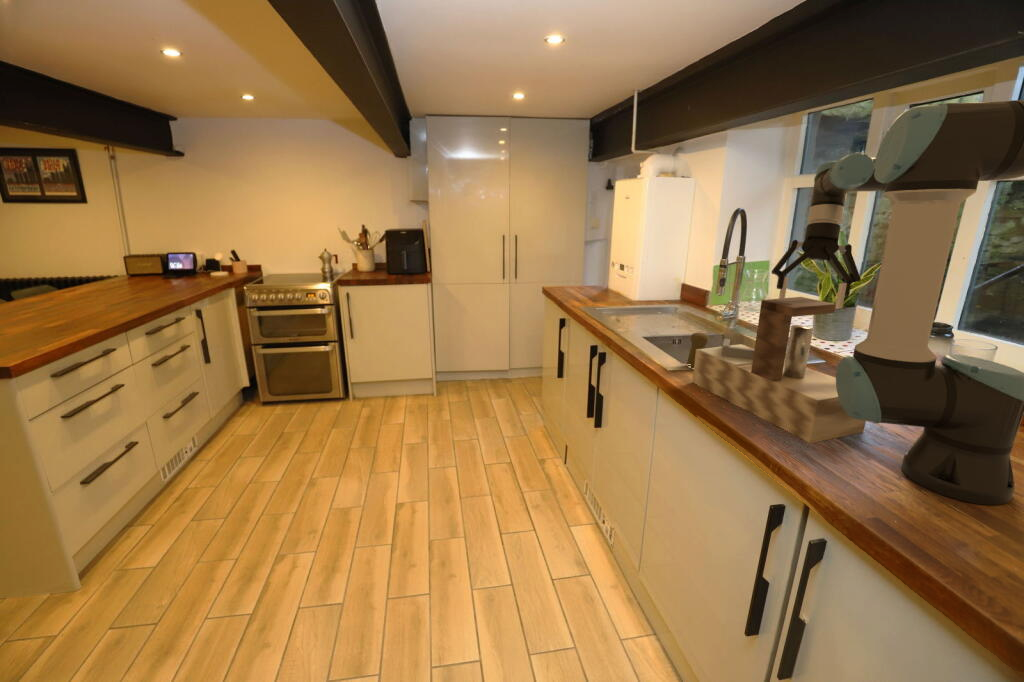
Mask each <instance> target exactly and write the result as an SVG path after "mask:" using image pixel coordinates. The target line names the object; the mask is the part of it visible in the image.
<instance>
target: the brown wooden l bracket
mask: <svg viewBox="0 0 1024 682" xmlns="http://www.w3.org/2000/svg"><path fill="white" fill-rule="evenodd" d="M760 303H761V304H760V308H759V309H760V311H759V318H758V323H757V329H756V330H757V331H756V336H755V344H754V348H753V349H754V356H753V363H752V370H751V373H753V374H756V375H758V376H761V377H763V378H765V379H768V380H770V381H773V382H774V381H780V380H781V379H782V373H783V367H784V361H785V360H786V355H787V349H788V343H789V337H790V331H791V326H792V319H793V318H794V317H803V316H805V317H806V316H816V315H824V314H825V315H826V314H834V313H835V311H836V308H835V307H836V303H833V302H828V301H823V300H818V299H813V298H809V297H808V298H807V297H804V296H796V297H785V298H781V299H779V298H771V299H762V300H761V301H760Z"/></svg>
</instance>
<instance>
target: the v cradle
mask: <svg viewBox="0 0 1024 682" xmlns="http://www.w3.org/2000/svg"><path fill="white" fill-rule="evenodd" d="M730 343H731V339H730V338H723V343H722V346H717V347H716V346H715V347H706V348H705V349H699V350H698V351H701V352H703V353H705V354H708V355H710V356H713V357H715V358H717V359H720V360H722V361H725V362H727V363H729V364H732V365H734V366H740V365H748V364H752V363H753V356H754V349H755V348H753V349H750V348H751V347H750V348H747V347H744V346H741V345H739V344H731V345H730Z"/></svg>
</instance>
